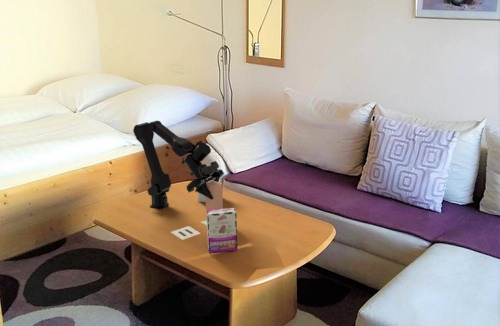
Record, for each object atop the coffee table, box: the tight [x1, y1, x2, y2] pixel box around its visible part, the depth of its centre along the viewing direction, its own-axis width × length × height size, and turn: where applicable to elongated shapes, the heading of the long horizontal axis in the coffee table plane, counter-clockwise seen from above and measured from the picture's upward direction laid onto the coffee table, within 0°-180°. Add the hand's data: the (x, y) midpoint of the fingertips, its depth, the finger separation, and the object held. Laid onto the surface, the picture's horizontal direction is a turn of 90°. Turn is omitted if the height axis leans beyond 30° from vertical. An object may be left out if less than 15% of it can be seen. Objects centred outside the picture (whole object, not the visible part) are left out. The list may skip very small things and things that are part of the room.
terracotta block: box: [205, 181, 224, 211], centre depth 230 cm, size 5×5×12 cm
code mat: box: [170, 219, 207, 241], centre depth 229 cm, size 26×15×1 cm, turn 130°
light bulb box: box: [197, 176, 223, 203], centre depth 258 cm, size 11×7×11 cm, turn 84°
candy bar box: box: [205, 207, 238, 254], centre depth 210 cm, size 11×5×16 cm, turn 101°
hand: (216, 197), depth 229 cm, fingers closed on terracotta block, 5 cm apart
